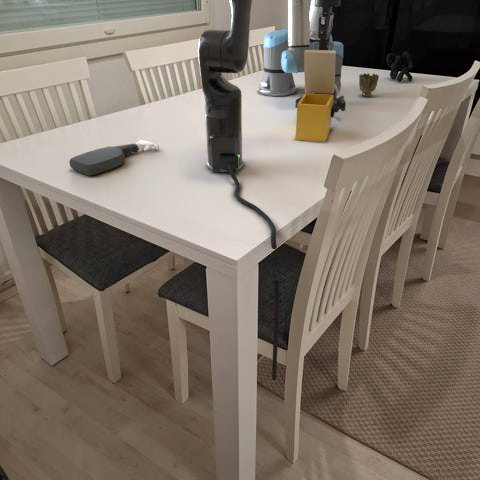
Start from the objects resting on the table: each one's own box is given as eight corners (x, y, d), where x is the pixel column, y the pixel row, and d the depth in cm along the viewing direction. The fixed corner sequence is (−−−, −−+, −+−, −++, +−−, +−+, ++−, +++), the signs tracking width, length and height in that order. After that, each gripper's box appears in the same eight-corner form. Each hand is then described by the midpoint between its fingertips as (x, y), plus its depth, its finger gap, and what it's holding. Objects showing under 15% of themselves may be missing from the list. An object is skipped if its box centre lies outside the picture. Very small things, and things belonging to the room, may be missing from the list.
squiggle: (400, 92, 202) (376, 71, 205) (417, 76, 202) (392, 56, 205) (405, 81, 191) (380, 59, 194) (423, 64, 191) (397, 42, 194)
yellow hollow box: (325, 142, 134) (328, 106, 128) (295, 139, 136) (297, 104, 131) (330, 128, 145) (333, 94, 139) (303, 126, 147) (305, 93, 141)
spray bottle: (67, 168, 120) (139, 144, 136) (91, 178, 114) (163, 151, 130) (65, 157, 118) (137, 134, 134) (89, 167, 112) (162, 142, 128)
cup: (354, 97, 177) (357, 76, 172) (359, 92, 182) (362, 72, 178) (373, 99, 174) (376, 77, 169) (378, 94, 179) (381, 73, 175)
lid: (335, 53, 127) (339, 36, 132) (304, 52, 129) (309, 35, 134) (333, 93, 138) (337, 77, 143) (304, 92, 141) (309, 75, 145)
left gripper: (318, -14, 133) (314, 47, 142) (311, -11, 122) (307, 55, 131) (344, -14, 131) (338, 48, 140) (339, -12, 120) (333, 56, 129)
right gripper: (356, 106, 157) (350, 126, 139) (295, 103, 163) (282, 121, 145) (358, 84, 153) (353, 101, 135) (296, 81, 159) (282, 97, 141)
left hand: (323, 51), depth 136 cm, fingers open, 4 cm apart
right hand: (316, 111), depth 140 cm, fingers closed on yellow hollow box, 9 cm apart
